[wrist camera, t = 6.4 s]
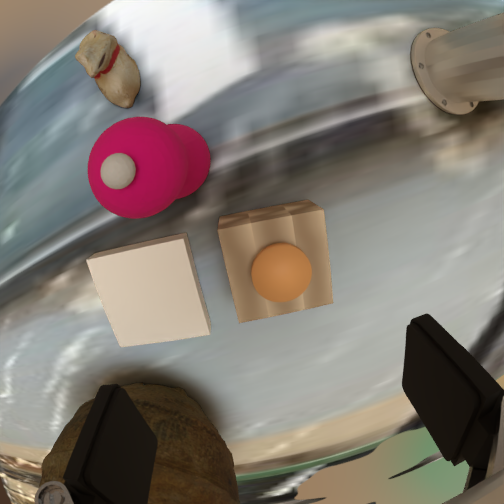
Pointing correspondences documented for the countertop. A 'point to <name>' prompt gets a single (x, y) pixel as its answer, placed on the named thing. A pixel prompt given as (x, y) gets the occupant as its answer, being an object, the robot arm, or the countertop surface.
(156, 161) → the pepper mill
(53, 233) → the countertop surface
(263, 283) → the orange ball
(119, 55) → the chocolate bunny
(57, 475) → the clay pot
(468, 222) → the countertop surface
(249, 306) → the stand
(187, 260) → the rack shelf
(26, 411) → the countertop surface
